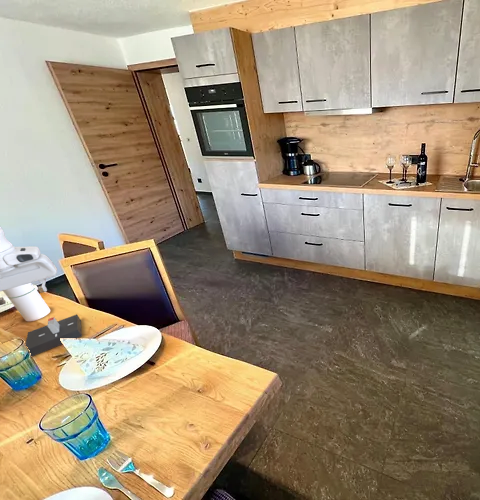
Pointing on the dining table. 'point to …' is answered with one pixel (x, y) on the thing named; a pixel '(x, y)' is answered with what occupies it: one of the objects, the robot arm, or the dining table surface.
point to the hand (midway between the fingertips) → (23, 297)
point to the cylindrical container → (28, 302)
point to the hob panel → (53, 335)
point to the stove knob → (53, 325)
